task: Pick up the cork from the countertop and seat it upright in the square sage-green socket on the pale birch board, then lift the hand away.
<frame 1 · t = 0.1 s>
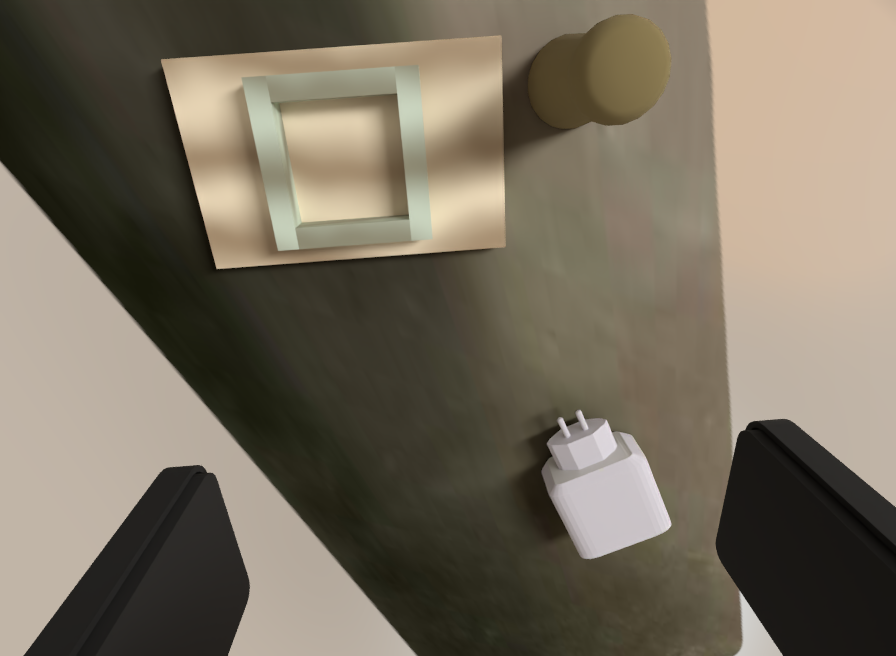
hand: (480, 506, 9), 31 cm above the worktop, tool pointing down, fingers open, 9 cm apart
charger: (587, 456, 48), on the worktop
socket board: (350, 159, 36), on the worktop
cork: (569, 83, 34), on the worktop
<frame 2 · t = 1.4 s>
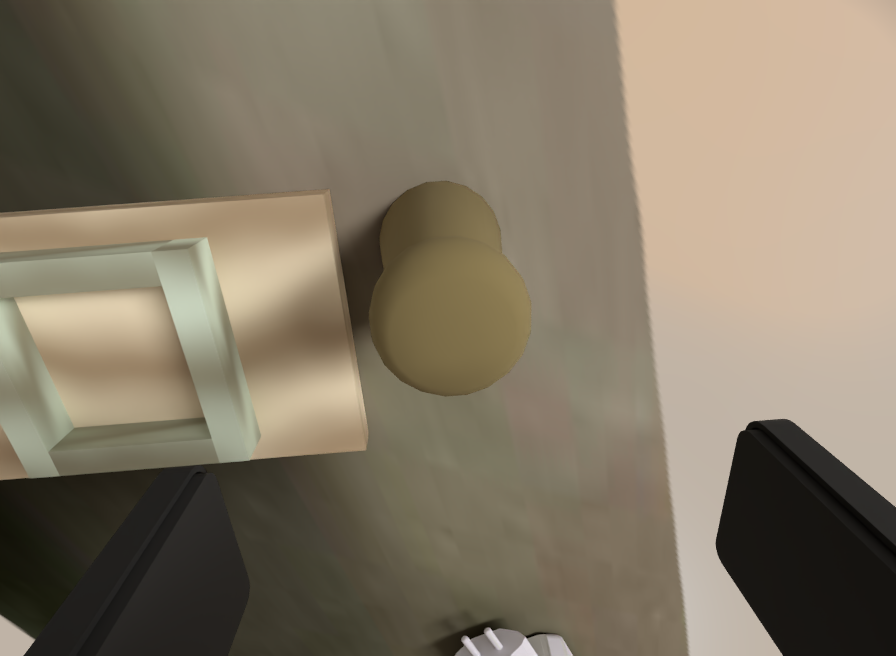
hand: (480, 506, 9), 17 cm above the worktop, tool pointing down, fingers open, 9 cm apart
charger: (511, 654, 39), on the worktop
socket board: (141, 341, 26), on the worktop
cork: (440, 242, 24), on the worktop
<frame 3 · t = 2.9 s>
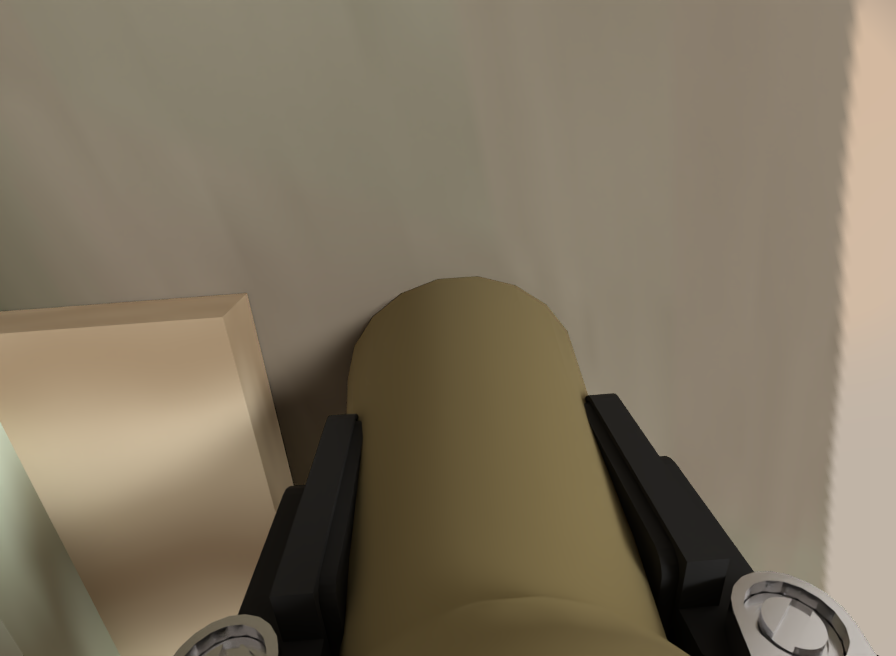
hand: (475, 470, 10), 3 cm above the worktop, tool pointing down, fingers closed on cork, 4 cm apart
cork: (463, 382, 13), on the worktop, touching gripper
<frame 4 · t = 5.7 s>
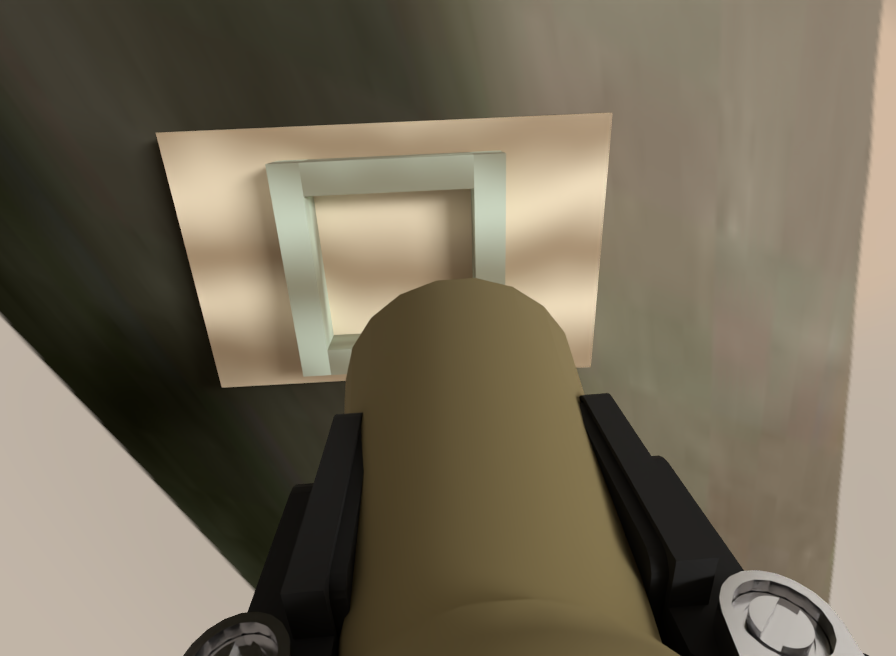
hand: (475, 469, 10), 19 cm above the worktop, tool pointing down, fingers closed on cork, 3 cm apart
socket board: (399, 256, 28), on the worktop
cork: (461, 383, 13), point 16 cm above the worktop, touching gripper
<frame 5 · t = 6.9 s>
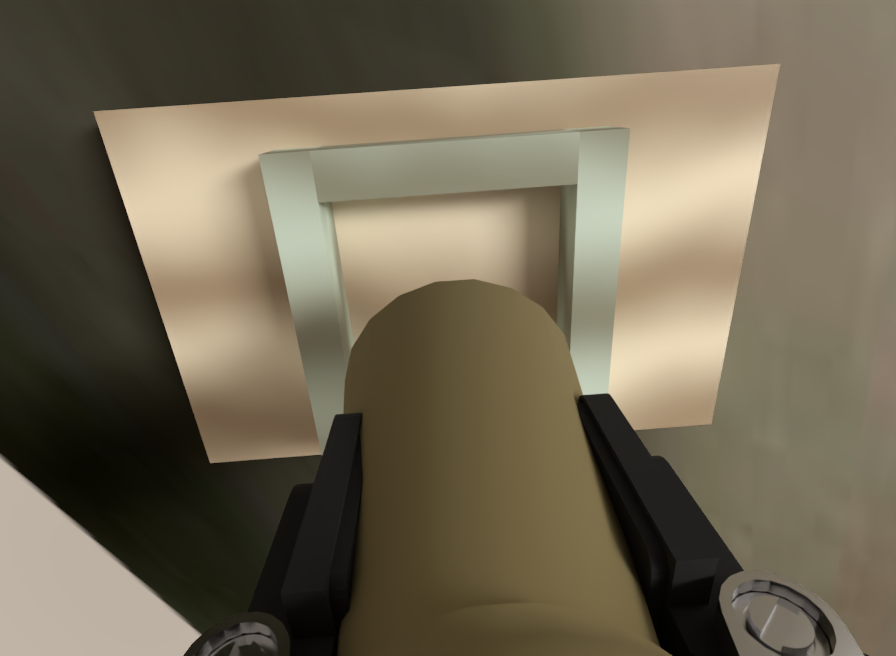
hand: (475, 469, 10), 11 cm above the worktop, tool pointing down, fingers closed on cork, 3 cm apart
socket board: (450, 280, 20), on the worktop
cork: (460, 384, 13), point 8 cm above the worktop, touching gripper
when the fingers open (5 cm above the worktop, at t = 8.2 s): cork stays where it is, resting on socket board.
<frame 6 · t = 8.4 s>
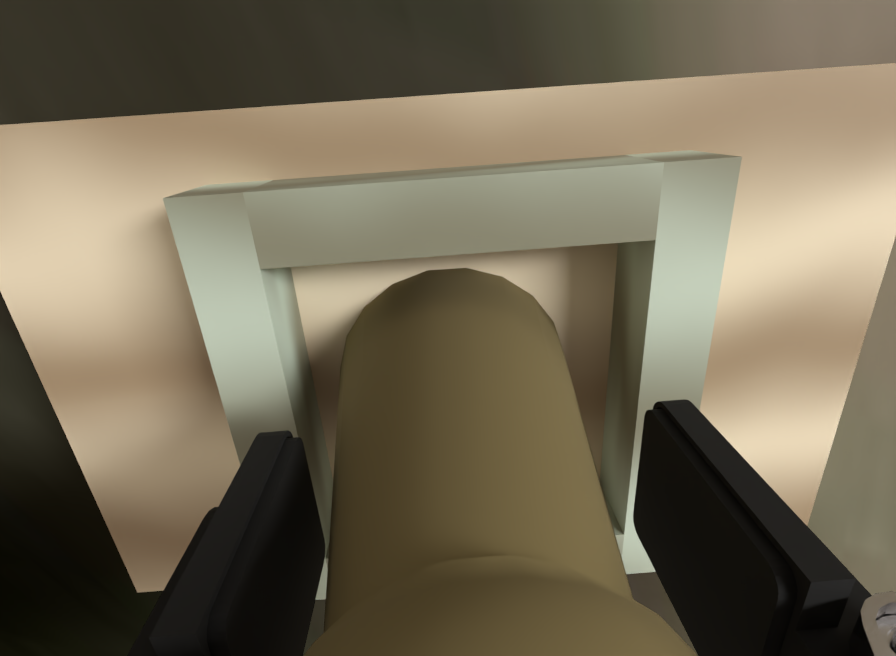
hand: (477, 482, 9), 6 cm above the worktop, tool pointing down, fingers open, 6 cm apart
socket board: (458, 354, 15), on the worktop
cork: (452, 371, 13), point 1 cm above the worktop, touching socket board
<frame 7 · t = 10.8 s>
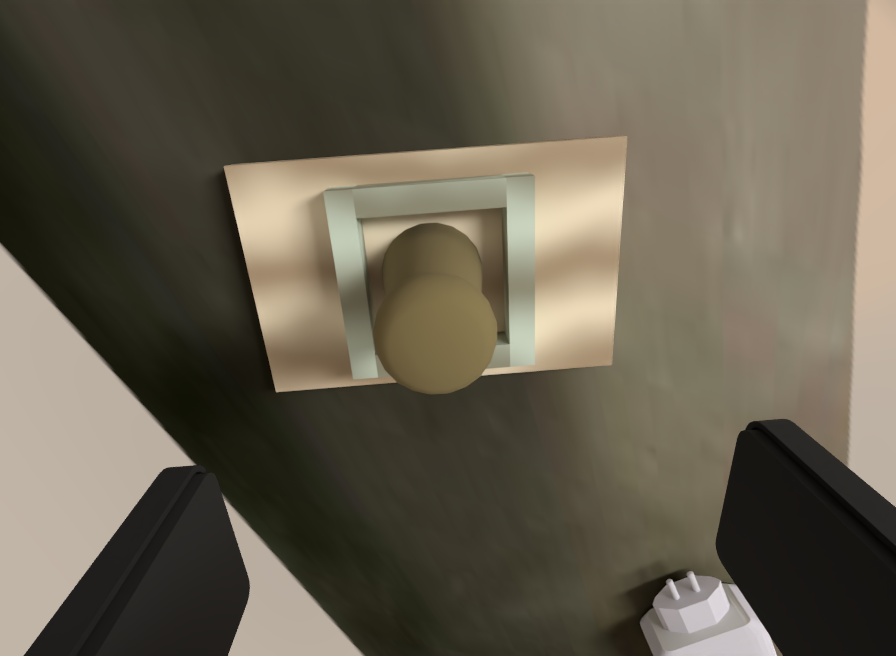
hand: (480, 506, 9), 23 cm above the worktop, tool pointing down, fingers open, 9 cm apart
charger: (688, 604, 44), on the worktop
socket board: (436, 268, 31), on the worktop
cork: (432, 272, 29), point 1 cm above the worktop, touching socket board
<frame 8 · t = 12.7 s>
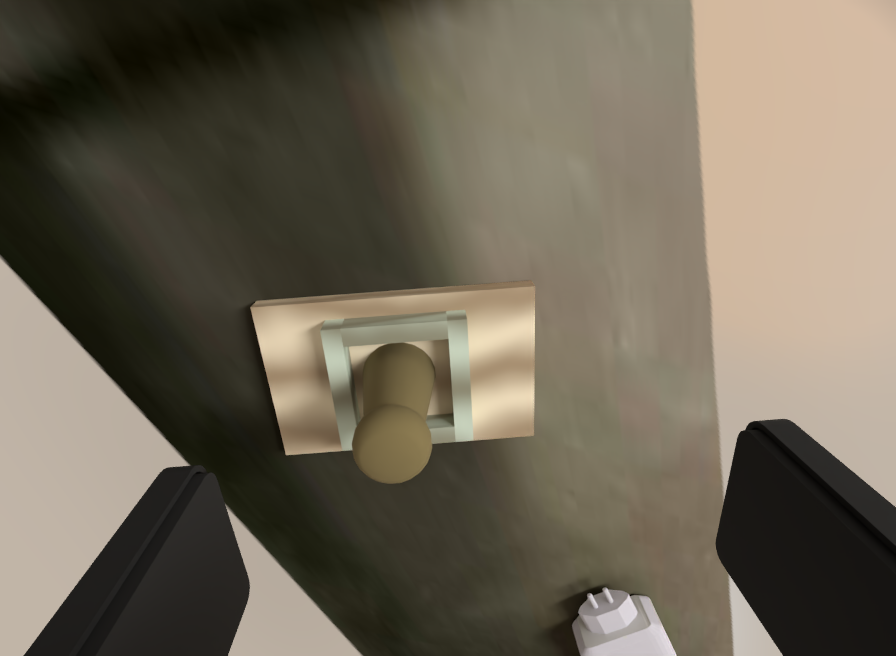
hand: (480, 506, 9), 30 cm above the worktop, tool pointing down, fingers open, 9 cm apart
charger: (610, 610, 56), on the worktop
socket board: (403, 367, 42), on the worktop
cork: (399, 373, 41), point 1 cm above the worktop, touching socket board
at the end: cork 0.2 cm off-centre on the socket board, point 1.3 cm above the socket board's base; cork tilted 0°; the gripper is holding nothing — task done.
